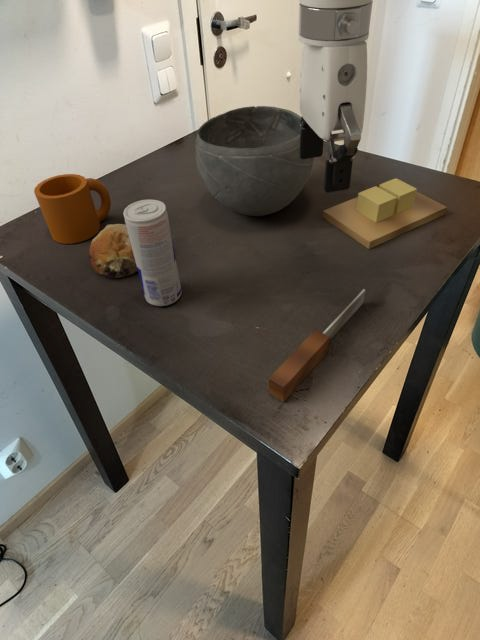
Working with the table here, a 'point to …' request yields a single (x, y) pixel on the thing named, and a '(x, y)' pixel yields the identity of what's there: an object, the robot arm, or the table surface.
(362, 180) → the table surface
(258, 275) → the table surface
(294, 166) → the bowl
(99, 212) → the mug
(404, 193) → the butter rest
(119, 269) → the bread roll
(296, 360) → the knife
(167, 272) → the beverage can
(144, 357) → the table surface
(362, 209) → the butter piece
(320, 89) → the robot arm
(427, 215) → the board
